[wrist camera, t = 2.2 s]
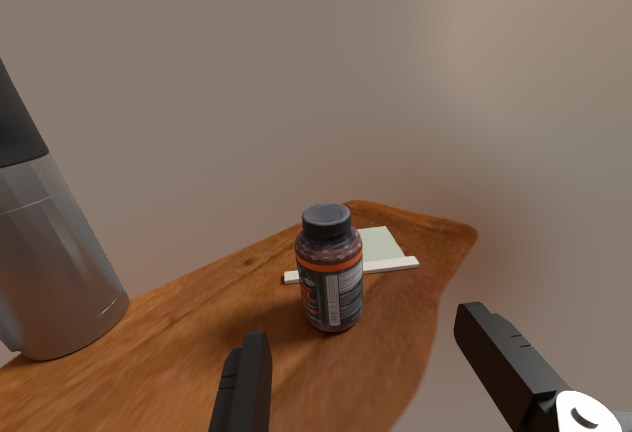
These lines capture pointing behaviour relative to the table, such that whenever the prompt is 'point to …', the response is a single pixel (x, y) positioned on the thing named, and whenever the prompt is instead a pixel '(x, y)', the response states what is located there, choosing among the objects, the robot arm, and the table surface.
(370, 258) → the white flat t-shaped panel
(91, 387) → the table surface
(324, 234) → the supplement bottle
